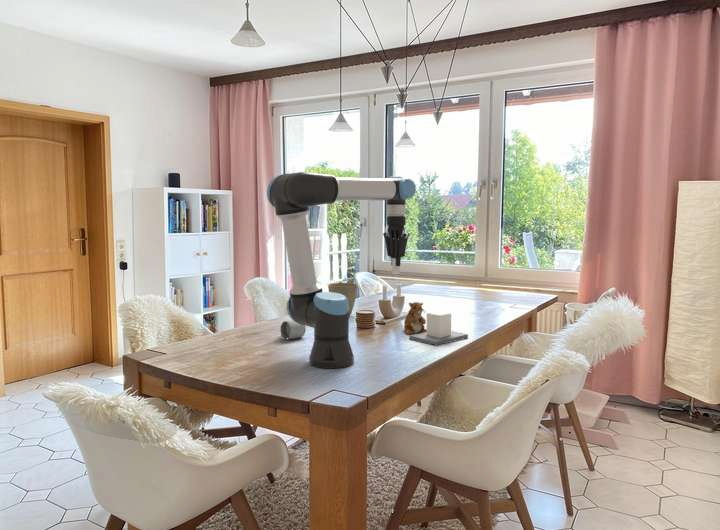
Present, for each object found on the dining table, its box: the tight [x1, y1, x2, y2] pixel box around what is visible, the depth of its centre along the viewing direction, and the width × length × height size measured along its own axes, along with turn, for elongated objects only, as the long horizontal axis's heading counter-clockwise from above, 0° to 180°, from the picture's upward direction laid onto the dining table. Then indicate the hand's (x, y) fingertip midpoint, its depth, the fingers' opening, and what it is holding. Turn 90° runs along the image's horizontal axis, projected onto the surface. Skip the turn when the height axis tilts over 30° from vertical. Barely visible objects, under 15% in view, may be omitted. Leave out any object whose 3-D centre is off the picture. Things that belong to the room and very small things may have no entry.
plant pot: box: [327, 282, 358, 317], centre depth 261 cm, size 15×15×16 cm
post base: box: [408, 330, 469, 346], centre depth 213 cm, size 20×14×8 cm
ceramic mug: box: [280, 320, 307, 341], centre depth 214 cm, size 11×8×8 cm
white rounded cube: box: [426, 310, 452, 338], centre depth 212 cm, size 7×7×9 cm
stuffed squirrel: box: [403, 301, 427, 335], centre depth 226 cm, size 10×14×13 cm
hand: (395, 274), depth 211 cm, fingers closed
